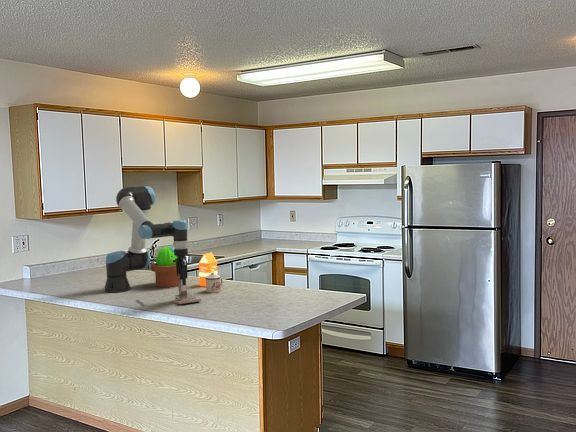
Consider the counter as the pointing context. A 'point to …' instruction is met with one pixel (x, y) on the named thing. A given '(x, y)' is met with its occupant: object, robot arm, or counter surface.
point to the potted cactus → (165, 268)
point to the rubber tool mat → (140, 303)
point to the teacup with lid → (213, 283)
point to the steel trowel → (183, 294)
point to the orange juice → (207, 267)
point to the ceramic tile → (186, 301)
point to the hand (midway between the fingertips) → (182, 289)
